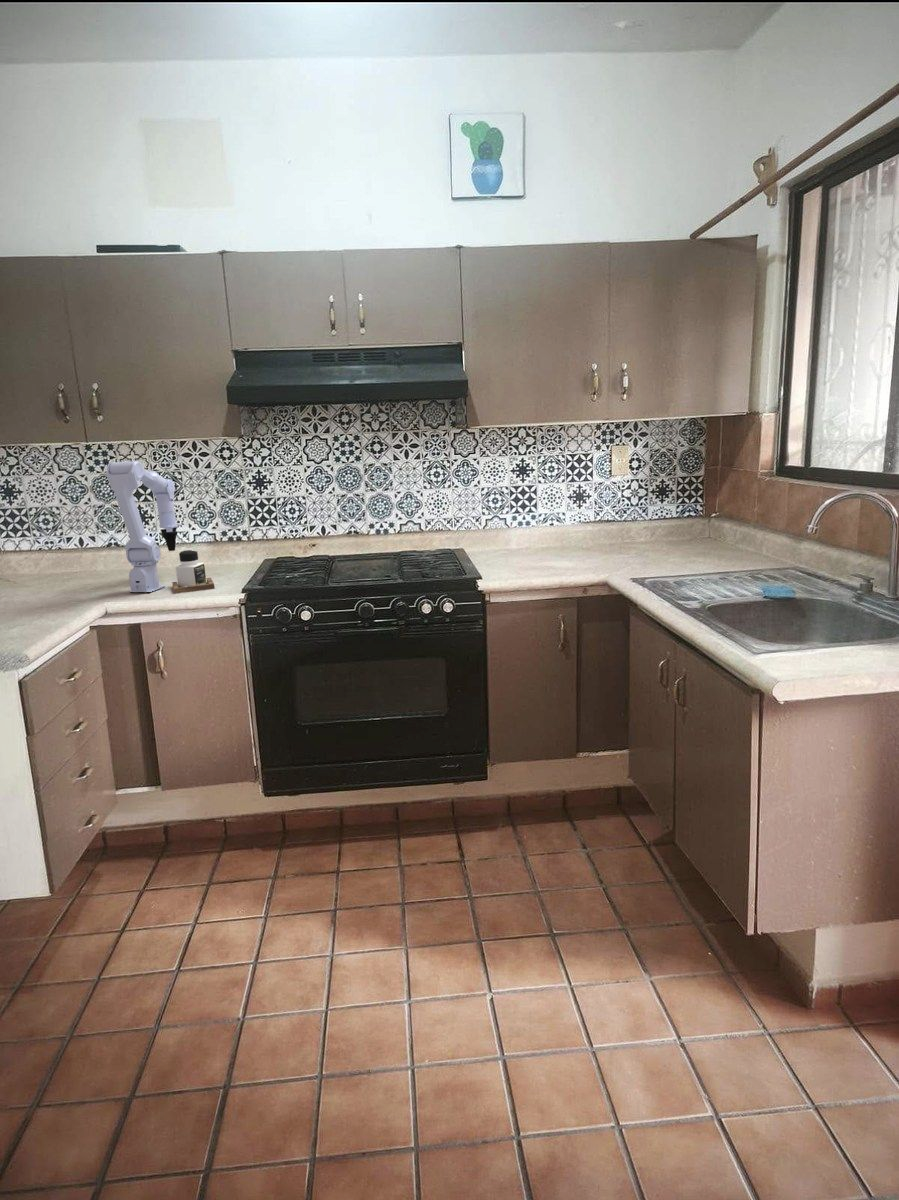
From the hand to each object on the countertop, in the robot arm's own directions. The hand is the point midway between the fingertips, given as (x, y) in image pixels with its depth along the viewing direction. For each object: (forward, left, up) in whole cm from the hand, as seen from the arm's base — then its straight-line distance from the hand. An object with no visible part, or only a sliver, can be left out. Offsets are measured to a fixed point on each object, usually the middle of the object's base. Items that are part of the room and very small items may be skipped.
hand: (171, 549), depth 282 cm
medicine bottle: (-12, -14, -11) cm, 21 cm away
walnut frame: (-16, -17, -10) cm, 26 cm away
